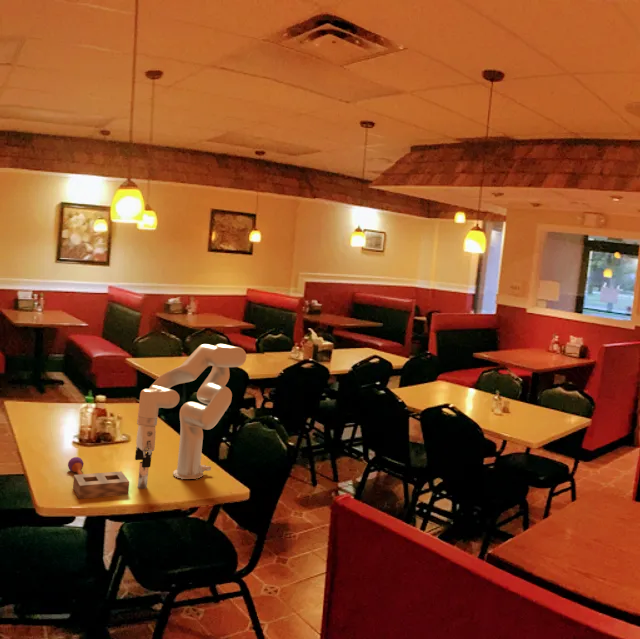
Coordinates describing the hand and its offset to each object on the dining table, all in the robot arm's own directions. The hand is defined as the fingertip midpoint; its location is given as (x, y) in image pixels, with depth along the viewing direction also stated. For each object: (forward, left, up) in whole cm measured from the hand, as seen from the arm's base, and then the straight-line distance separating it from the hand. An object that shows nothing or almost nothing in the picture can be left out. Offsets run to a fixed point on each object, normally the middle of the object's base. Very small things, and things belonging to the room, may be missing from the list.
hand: (142, 463), depth 255 cm
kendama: (+20, -18, -10) cm, 29 cm away
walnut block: (+15, 0, -10) cm, 18 cm away
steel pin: (-1, 0, -10) cm, 10 cm away
